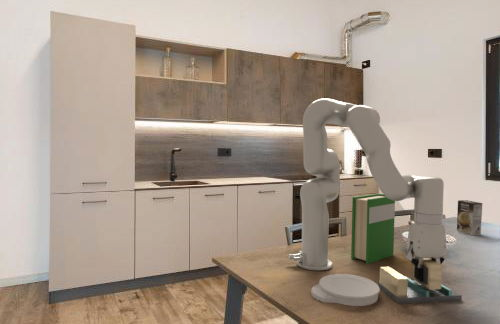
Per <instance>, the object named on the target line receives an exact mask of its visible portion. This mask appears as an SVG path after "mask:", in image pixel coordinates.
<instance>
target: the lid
mask: <svg viewBox="0 0 500 324" xmlns="http://www.w3.org/2000/svg"><path fill="white" fill-rule="evenodd" d="M380 291H381V289H380V288H379V286H378V283H376V282H375V281H373V280H371V279H370V278H367V277H365V276H360V275H356V274H349V273H334V274H333V273H332V274H328V275H324V276H322V278H320V279H319V282H318V284H316V285H313V286H312V288H311V290H310V293H311V296H312V298H314V299H315V298H316V299H315V300H317V301H319V300H320V301H319V302H322V303H332V304H333V303H334V304H341V305H345V306H351V307H352V306H353V307H362V306H370V305H372V304H375V303H376V302H377V301H378V299H379V294H380Z"/></svg>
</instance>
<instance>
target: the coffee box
mask: <svg viewBox="0 0 500 324" xmlns="http://www.w3.org/2000/svg"><path fill="white" fill-rule="evenodd" d="M456 216H457V217H456V232H459V233H463V234H466V235H470V236H478V235H479V236H480V234H482V220H483V219H482V216H483V203H482V202H478V201H472V200H462V199H460V200H457V214H456Z"/></svg>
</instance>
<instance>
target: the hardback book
mask: <svg viewBox="0 0 500 324" xmlns="http://www.w3.org/2000/svg"><path fill="white" fill-rule="evenodd" d="M351 204H352V205H351V206H352V207H351V208H352V210H351V213H352V214H351V249H350V250H351V251H350V252H351V255H350V258H351V259H352V260H356V259H359V260H362V261H365V264H367V265H368V264H373V263H375V262H378V261H380V260H383V259H386V258H389V257H391V256H394V248H395V247H394V246H395V216H396V215H395V214H396V213H395V211H396V210H395V209H396V206H395V205H396V201H393V200H390V199H388V198H387V197H386V196H385V195H384V194H383V193H372V194H366V195H357V196H352V203H351Z"/></svg>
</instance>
